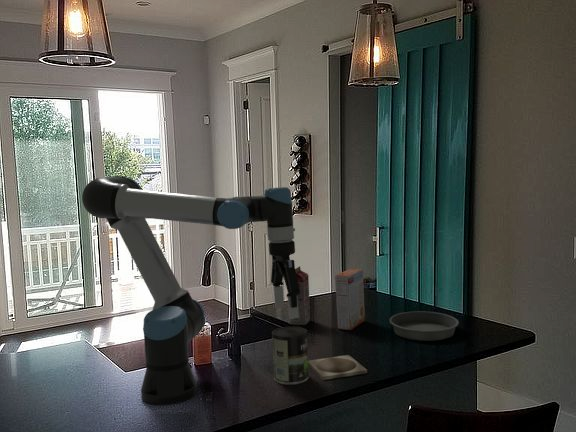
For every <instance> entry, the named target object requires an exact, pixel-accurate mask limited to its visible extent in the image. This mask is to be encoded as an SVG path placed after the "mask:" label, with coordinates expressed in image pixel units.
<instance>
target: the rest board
mask: <svg viewBox="0 0 576 432" xmlns="http://www.w3.org/2000/svg"><path fill="white" fill-rule="evenodd" d="M308 367H310V369H312V370H313V371H314V373H315V374H316V375H317V376H318V377H319V378H320V379H321V380H322V381H325V380H334V379H339V378H344V377H352V376H357V375H364V374H368V369H366V368H365V366H363V365H362V364H361V363H359V362H358V361H357V360H356V359H354V358H353V357H352V356H350V355H349V354H346V355H338V356H332V357H325V358H318V359H317V358H316V359H310V360H308Z"/></svg>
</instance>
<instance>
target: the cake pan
mask: <svg viewBox="0 0 576 432" xmlns="http://www.w3.org/2000/svg"><path fill="white" fill-rule="evenodd" d="M389 324H391V325H392V328H393V331H394V333H395V335H397V336H398V337H401V338H403V339H404V338H405V339H408V340H413V341H426V342H427V341H430V342H431V341H441V340H445V339H446V340H447V339H449V338H451V337H453V335H454V334H455V331H456V327H458V326H459V324H460V322H459V319H457V318H455V317H454V316H453V315H449V314H446V313H441V312H436V311H425V310H423V311H422V310H419V311H417V310H416V311H407V312H406V311H405V312H399V313H397V314H393V315H392V316H391V317H390V318H389Z"/></svg>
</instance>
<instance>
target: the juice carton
mask: <svg viewBox="0 0 576 432" xmlns="http://www.w3.org/2000/svg"><path fill="white" fill-rule="evenodd" d="M295 271H296V275H297V280H298V285H299V289H300V294H298V295H297V297H298V311H299V318H295V319H289V318H288V324H289V325H297V326H298V325H301V326H306V325H307V324H308V323H309V322H310V321H311V313H310V311H311V309H310V282H309V274H308V273H307V272H304V271H303V270H302V269H301V266H298V267H295Z"/></svg>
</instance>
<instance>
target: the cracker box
mask: <svg viewBox="0 0 576 432" xmlns="http://www.w3.org/2000/svg"><path fill="white" fill-rule="evenodd" d="M334 280H335V283H334V284H335V299H336V300H335V301H336V321H337V329H338V330H345V331H352V330H354V329H355V328H357V327H359V325H361V324H362V323H363V322H365V321H366V312H365V293H364V292H365V291H364V269H361V268H348V269H346V270H345V271H342V272H340V273H337V274H336V275H335V276H334Z"/></svg>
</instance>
